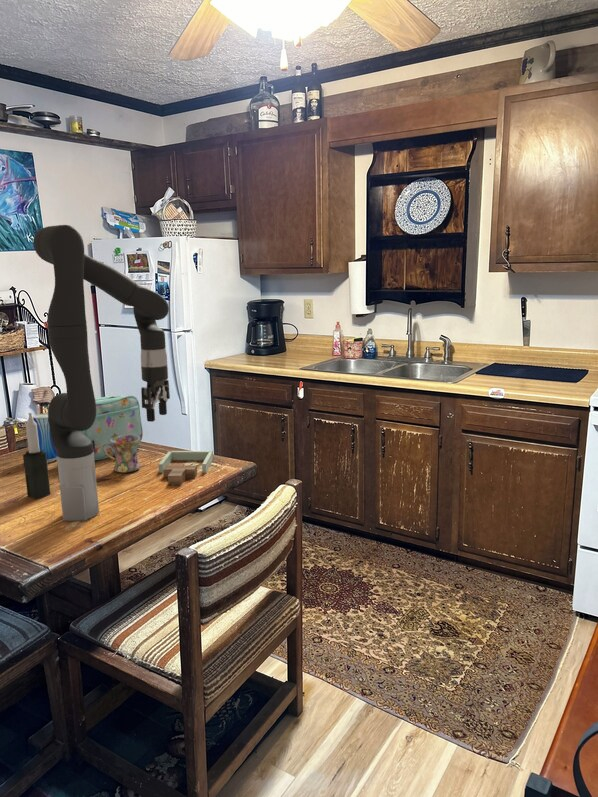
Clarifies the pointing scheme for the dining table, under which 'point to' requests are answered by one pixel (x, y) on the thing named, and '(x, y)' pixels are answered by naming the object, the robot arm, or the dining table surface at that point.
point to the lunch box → (114, 422)
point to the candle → (35, 464)
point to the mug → (125, 453)
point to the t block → (179, 473)
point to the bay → (187, 458)
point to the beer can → (45, 436)
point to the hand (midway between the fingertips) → (157, 417)
